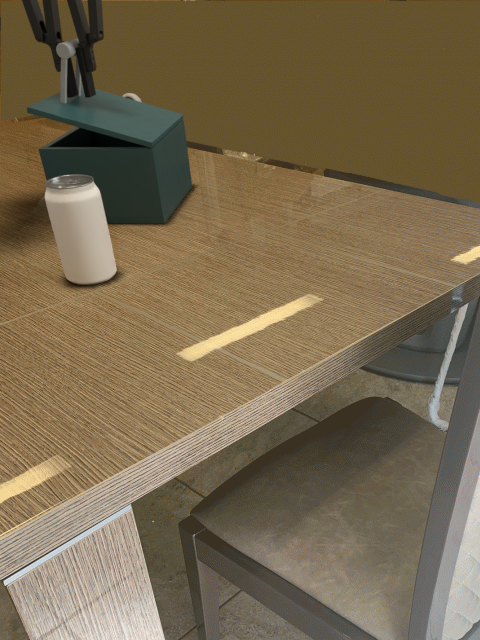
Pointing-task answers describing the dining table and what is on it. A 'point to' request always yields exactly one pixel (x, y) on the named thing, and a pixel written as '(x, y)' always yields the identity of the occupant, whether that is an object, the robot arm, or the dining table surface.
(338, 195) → the dining table surface
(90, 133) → the cooler
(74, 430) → the dining table surface
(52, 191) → the can
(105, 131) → the cooler lid
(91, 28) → the robot arm
